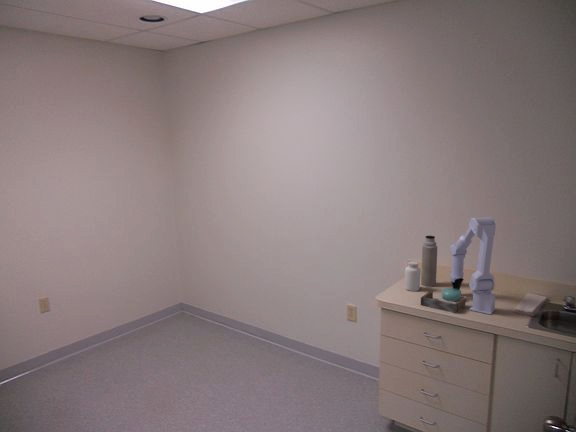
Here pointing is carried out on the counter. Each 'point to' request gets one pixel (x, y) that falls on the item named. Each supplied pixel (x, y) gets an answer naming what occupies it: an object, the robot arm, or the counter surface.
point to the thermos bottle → (429, 262)
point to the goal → (442, 303)
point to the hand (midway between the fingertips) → (456, 291)
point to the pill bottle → (412, 277)
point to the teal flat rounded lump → (451, 294)
